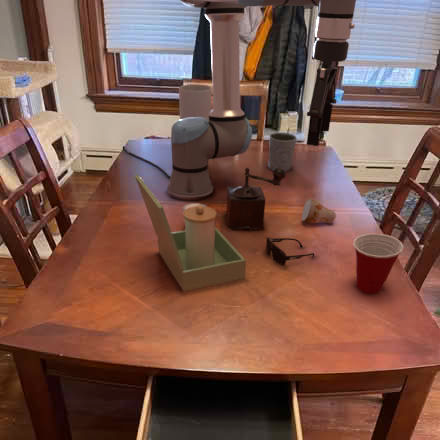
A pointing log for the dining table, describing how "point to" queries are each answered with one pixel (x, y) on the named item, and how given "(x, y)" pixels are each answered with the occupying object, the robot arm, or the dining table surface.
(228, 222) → the brown manual coffee grinder
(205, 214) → the canister
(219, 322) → the dining table surface
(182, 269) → the box lid
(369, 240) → the plastic cup
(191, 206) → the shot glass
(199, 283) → the box
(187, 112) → the cylinder vase
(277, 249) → the sunglasses
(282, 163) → the grey pot
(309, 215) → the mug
